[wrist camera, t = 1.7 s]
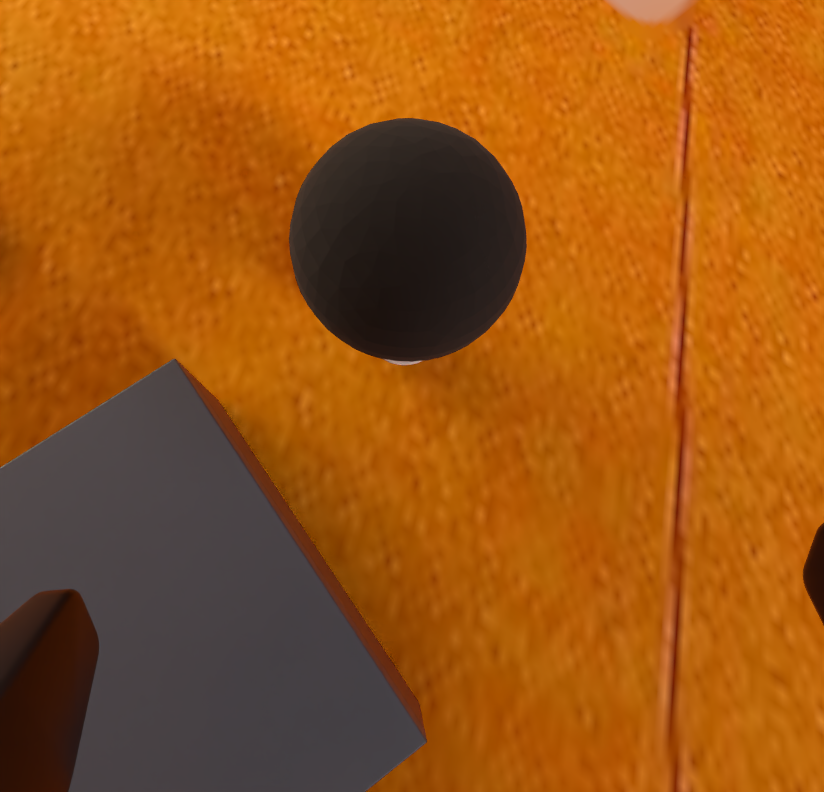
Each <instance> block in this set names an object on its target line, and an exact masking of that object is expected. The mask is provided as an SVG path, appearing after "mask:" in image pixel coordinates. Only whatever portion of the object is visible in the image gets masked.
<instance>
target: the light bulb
mask: <svg viewBox="0 0 824 792" xmlns="http://www.w3.org/2000/svg"><path fill="white" fill-rule="evenodd" d="M289 244H290V255H291V259H292V264H293V269H294V273H295V278H296V281H297V284H298V286H299V289H300V292H301V294H302V295H303V297H304V299H305V301H306V303H307V305H308V306H309V307H310V309H311V310H312V311H313V313H314V314H315V315H316V317H317V318H318V319H319V320H320V321H321V323H322V324H323V325H324V326H325V327H326V328H327V329H328V330H329V331H330V332H331V333H333V334H334V335H335V336H336V337H338V338H339V339H340V340H342V341H343V342H345V343H346V344H348V345H350V346H351V347H353V348H354V349H356V350H359V351H361V352H363V353H365V354H368V355H371V356H374V357H378V358H381V359H384V360H386V361H388V362H390V363H392V364H398V365H413V364H416V363H419V362H421V361H424V360H430V359H434V358H439V357H442V356H445V355H448V354H451V353H453V352H456V351H458V350H460V349H462V348H463V347H465V346H467V345H469V344H470V343H471V342H473V341H474V340H476V339H477V338H478V337H480V336H481V335H482V334H484V333H485V332H486V331H487V330H488V329H489V328H490V327H491V326H492V325H493V324H494V323H495V322H496V320H497V319H498V318H499V317H500V316H501V314H502V313H503V312H504V311H505V309H506V308H507V306H508V304H509V303H510V301H511V299H512V298H513V295H514V293H515V291H516V288H517V286H518V283H519V280H520V276H521V273H522V269H523V265H524V262H525V255H526V229H525V222H524V216H523V210H522V205H521V202H520V199H519V196H518V193H517V191H516V189H515V187H514V185H513V183H512V181H511V179H510V178H509V176H508V175H507V173H506V172H505V170H504V169H503V168H502V166H501V165H500V163H499V162H498V161H497V159H496V158H495V157H494V156H493V155H492V154H491V153H490V152H489V151H488V150H487V149H485V148H484V147H483V146H482V145H481V144H480V143H479V142H478V141H477V140H476V139H474V138H472V137H470V136H468V135H467V134H465V133H463V132H461V131H459V130H458V129H456V128H453V127H450V126H448V125H445V124H442V123H439V122H434V121H428V120H422V119H414V118H402V119H394V120H389V121H383V122H378V123H373V124H369V125H367V126H365V127H363V128H361V129H358V130H356V131H354V132H352V133H350V134H348V135H346V136H345V137H344V138H342V139H341V140H340V141H338V142H337V143H336V144H334V145H333V146H332V147H331V148H330V149H329V150H328V151H327V152H326V153H325V154H324V155H323V156H322V157H321V158H320V159H319V161H318V162H317V163H316V164H315V166H314V167H313V168H312V170H311V171H310V172H309V174H308V175H307V177H306V179H305V180H304V182H303V184H302V186H301V188H300V191H299V193H298V196H297V198H296V202H295V207H294V211H293V215H292V220H291V224H290V235H289Z"/></svg>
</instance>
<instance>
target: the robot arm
mask: <svg viewBox="0 0 824 792" xmlns="http://www.w3.org/2000/svg"><path fill="white" fill-rule="evenodd" d="M803 580H804V584H805V588H806V590H807V592H808V594H809V596H810V599H811V601H812V603H813V605H814V607H815V609H816V611H817V613H818V615H819V617H820V619H821V621H822V623H823V625H824V523H823V524H822V525H821V526H820V527H819V528H818V530H817V532H816V535H815V537H814V540H813V543H812V546H811V549H810V551H809V554H808V557H807V560H806V563H805V565H804V569H803ZM98 655H99V638H98V634H97V631H96V629H95V627H94V624H93V622H92V619H91V617H90V615H89V612H88V610H87V608H86V605H85V603H84V601H83V598H82V596H81V595H80V593H79V592H78V591H76V590H74V589H61V590H50V591H42V592H39V593H37V594H35V595H34V596H33V597H31V598H30V599H29V600H28V601H26V602H25V603H24V604H23V605H22V606H20V607H19V608H18V609H17V610H16V611H15V612H13V613H12V614H11V615H10V616H9V617H7V618H6V619H5V620H4V621H3V622H1V623H0V792H68V791H69V788H70V784H71V780H72V776H73V772H74V768H75V763H76V759H77V754H78V749H79V745H80V740H81V735H82V731H83V726H84V721H85V717H86V712H87V707H88V702H89V698H90V693H91V688H92V684H93V679H94V674H95V670H96V665H97V660H98Z"/></svg>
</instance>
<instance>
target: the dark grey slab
mask: <svg viewBox="0 0 824 792" xmlns="http://www.w3.org/2000/svg"><path fill="white" fill-rule="evenodd" d="M61 589H74V590H76V591H78V592H79V593H80V595H81V596H82V598H83V601H84V603H85V605H86V608H87V610H88V612H89V615H90V617H91V619H92V622H93V624H94V627H95V629H96V631H97V634H98V638H99V655H98V660H97V665H96V670H95V674H94V679H93V684H92V688H91V693H90V698H89V702H88V707H87V712H86V717H85V721H84V726H83V731H82V735H81V740H80V745H79V749H78V754H77V759H76V763H75V768H74V772H73V776H72V780H71V784H70V788H69V791H68V792H365V791H367V790H368V789H369V788H370V787H372V786H373V785H374V784H375V783H377V782H378V781H379V780H380V779H382V778H383V777H384V776H385V775H387V774H388V773H389V772H390V771H392V770H393V769H394V768H395V767H397V766H398V765H399V764H400V763H402V762H403V761H404V760H405V759H407V758H408V757H409V756H410V755H412V754H413V753H414V752H415V751H417V750H418V749H419V748H420V747H422V746H423V745H424V744H425V743H426V742H427V739H426V734H425V729H424V726H423V720H422V715H421V709H420V704H419V702H418V701H417V699H416V698H415V696H414V695H413V693H412V692H411V690H410V689H409V687H408V686H407V684H406V683H405V681H404V680H403V678H402V677H401V675H400V674H399V672H398V671H397V669H396V668H395V666H394V665H393V663H392V662H391V660H390V658H389V657H388V655H387V654H386V652H385V651H384V649H383V648H382V646H381V645H380V643H379V642H378V640H377V639H376V637H375V636H374V634H373V633H372V631H371V630H370V628H369V627H368V625H367V624H366V622H365V621H364V619H363V618H362V616H361V615H360V613H359V612H358V610H357V609H356V607H355V606H354V604H353V603H352V601H351V600H350V598H349V597H348V595H347V594H346V592H345V591H344V589H343V588H342V586H341V585H340V583H339V582H338V580H337V579H336V577H335V576H334V574H333V573H332V571H331V570H330V568H329V567H328V565H327V564H326V562H325V561H324V559H323V558H322V556H321V555H320V553H319V552H318V550H317V549H316V547H315V546H314V544H313V543H312V541H311V540H310V538H309V537H308V535H307V534H306V532H305V531H304V529H303V528H302V526H301V525H300V523H299V522H298V520H297V519H296V517H295V516H294V514H293V512H292V511H291V509H290V508H289V506H288V505H287V503H286V502H285V500H284V499H283V497H282V496H281V494H280V493H279V491H278V490H277V488H276V487H275V485H274V484H273V482H272V481H271V479H270V478H269V476H268V475H267V473H266V472H265V470H264V469H263V467H262V466H261V464H260V463H259V461H258V460H257V458H256V457H255V455H254V454H253V452H252V451H251V449H250V448H249V446H248V445H247V443H246V442H245V440H244V439H243V437H242V436H241V434H240V433H239V431H238V430H237V428H236V427H235V425H234V424H233V422H232V421H231V419H230V418H229V416H228V415H227V413H226V412H225V410H224V409H223V407H222V406H221V404H220V403H219V401H218V400H217V399H216V398H215V397H214V396H213V395H212V394H211V393H210V392H209V391H208V390H207V389H206V388H205V387H204V386H203V385H202V384H201V383H200V382H199V381H198V380H196V379H195V378H194V377H193V376H192V375H191V374H190V373H189V372H188V371H187V370H186V369H185V368H184V367H183V366H182V365H181V364H180V363H179V362H178V361H177V360H176V359H173V360H171V361H169V362H168V363H166V364H165V365H163V366H161V367H160V368H158V369H157V370H155V371H153V372H152V373H150V374H149V375H147V376H146V377H144V378H142V379H141V380H139V381H138V382H136V383H134V384H133V385H131V386H130V387H128V388H126V389H125V390H123V391H122V392H120V393H118V394H117V395H115V396H114V397H112V398H110V399H109V400H107V401H106V402H104V403H102V404H101V405H99V406H98V407H96V408H95V409H93V410H91V411H90V412H88V413H87V414H85V415H83V416H82V417H80V418H79V419H77V420H75V421H74V422H72V423H71V424H69V425H67V426H66V427H64V428H63V429H61V430H59V431H58V432H56V433H55V434H53V435H51V436H50V437H48V438H47V439H45V440H43V441H42V442H40V443H39V444H37V445H36V446H34V447H32V448H31V449H29V450H28V451H26V452H24V453H23V454H21V455H20V456H18V457H16V458H15V459H13V460H12V461H10V462H8V463H7V464H5V465H4V466H2V467H0V623H1V622H3V621H4V620H5V619H6V618H7V617H9V616H10V615H11V614H12V613H13V612H15V611H16V610H17V609H18V608H19V607H20V606H22V605H23V604H24V603H25V602H26V601H28V600H29V599H30V598H31V597H33V596H34V595H35V594H37V593H39V592H42V591H50V590H61Z"/></svg>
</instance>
